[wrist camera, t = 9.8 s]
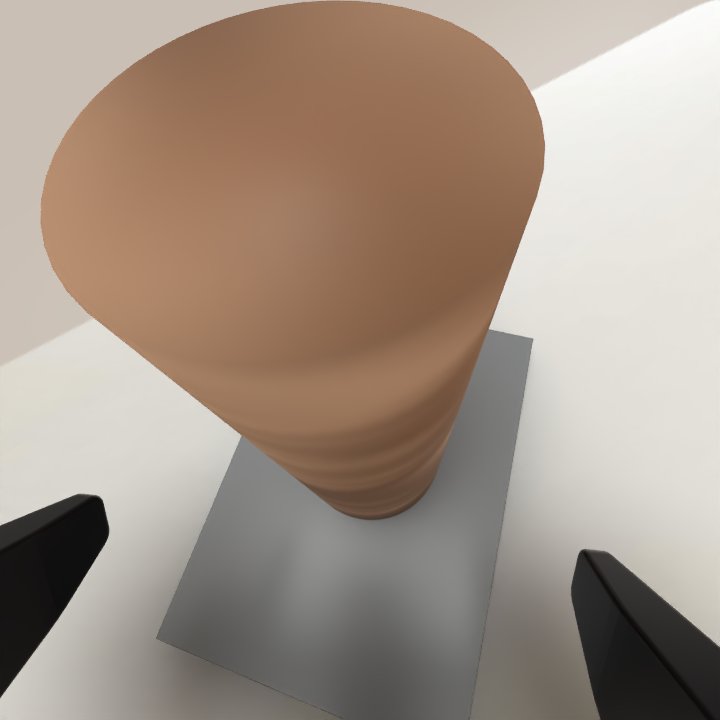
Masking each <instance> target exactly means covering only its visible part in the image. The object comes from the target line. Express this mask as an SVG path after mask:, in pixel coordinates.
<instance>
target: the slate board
mask: <svg viewBox="0 0 720 720" xmlns="http://www.w3.org/2000/svg"><path fill="white" fill-rule="evenodd" d="M532 342H533V339H532V338H527V337H523V336H518V335H513V334H508V333H504V332H499V331H494V330H489V329H488V332H487V335H486V337H485V340H484V343H483V346H482V348H481V351H480V354H479V357H478V359H477V362H476V365H475V368H474V370H473V373H472V376H471V379H470V381H469V384H468V387H467V390H466V392H465V395H464V398H463V401H462V403H461V406H460V409H459V412H458V414H457V417H456V420H455V423H454V425H453V428H452V431H451V434H450V436H449V439H448V442H447V445H446V447H445V450H444V453H443V456H442V458H441V461H440V464H439V467H438V469H437V472H436V475H435V477H434V480H433V482H432V484H431V486H430V487H429V489H428V490H427V492H426V493H425V494H424V496H423V497H422V498H421V499H420V500H419V501H418V502H417V503H416V504H415V505H413V506H412V507H411V508H409V509H408V510H406V511H404V512H402V513H400V514H398V515H396V516H393V517H390V518H385V519H380V520H363V519H358V518H353V517H350V516H348V515H345V514H343V513H341V512H339V511H337V510H335V509H334V508H333V507H331V506H330V505H329V504H327V503H326V502H325V501H324V500H322V499H321V498H320V497H319V496H317V495H316V494H315V493H314V492H312V491H311V490H310V489H309V488H307V487H306V486H305V485H303V484H302V483H301V482H300V481H298V480H297V479H296V478H295V477H293V476H292V475H291V474H290V473H288V472H287V471H286V470H285V469H283V468H282V467H281V466H280V465H278V464H277V463H276V462H275V461H273V460H272V459H271V458H270V457H268V456H267V455H266V454H265V453H263V452H262V451H261V450H259V449H258V448H257V447H256V446H254V445H253V444H252V443H251V442H249V441H248V440H247V439H246V438H244V437H243V436H242V437H241V439H240V441H239V444H238V446H237V448H236V451H235V453H234V455H233V458H232V460H231V463H230V465H229V467H228V470H227V472H226V474H225V477H224V479H223V481H222V484H221V486H220V488H219V491H218V493H217V496H216V498H215V500H214V503H213V505H212V507H211V510H210V512H209V514H208V517H207V519H206V522H205V524H204V526H203V529H202V531H201V533H200V536H199V538H198V540H197V543H196V545H195V547H194V550H193V552H192V555H191V557H190V559H189V562H188V564H187V566H186V569H185V571H184V573H183V576H182V578H181V580H180V583H179V585H178V588H177V590H176V592H175V595H174V597H173V599H172V602H171V604H170V606H169V609H168V611H167V614H166V616H165V618H164V621H163V623H162V625H161V628H160V630H159V632H158V635H157V637H156V639H158V640H160V641H163V642H165V643H167V644H170V645H172V646H174V647H177V648H179V649H181V650H184V651H186V652H188V653H191V654H193V655H195V656H198V657H200V658H202V659H205V660H207V661H209V662H212V663H214V664H216V665H219V666H221V667H223V668H226V669H228V670H230V671H233V672H235V673H237V674H239V675H242V676H244V677H246V678H249V679H251V680H253V681H256V682H258V683H260V684H263V685H265V686H267V687H270V688H272V689H274V690H277V691H279V692H281V693H284V694H286V695H288V696H291V697H293V698H295V699H298V700H300V701H302V702H305V703H307V704H309V705H312V706H314V707H316V708H319V709H321V710H323V711H325V712H328V713H330V714H332V715H335V716H337V717H339V718H342V719H344V720H469V719H470V713H471V707H472V701H473V695H474V689H475V683H476V677H477V671H478V665H479V659H480V653H481V647H482V641H483V635H484V629H485V623H486V617H487V611H488V605H489V599H490V593H491V587H492V581H493V575H494V569H495V563H496V557H497V551H498V545H499V539H500V534H501V528H502V522H503V516H504V510H505V504H506V498H507V492H508V486H509V480H510V474H511V468H512V462H513V456H514V450H515V444H516V438H517V432H518V426H519V420H520V414H521V408H522V402H523V396H524V390H525V384H526V378H527V372H528V366H529V360H530V354H531V348H532Z"/></svg>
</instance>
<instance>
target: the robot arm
mask: <svg viewBox="0 0 720 720" xmlns="http://www.w3.org/2000/svg"><path fill="white" fill-rule="evenodd" d="M108 536H109V525H108V521H107V516H106V512H105V507H104V503H103V500H102V499H101V498H100V497H99V496H97V495H89V494H77V495H74V496H71V497H69V498H67V499H64V500H62V501H59V502H57V503H54V504H52V505H49V506H47V507H45V508H42V509H40V510H37V511H35V512H32V513H30V514H27V515H25V516H23V517H20V518H18V519H15V520H13V521H10V522H8V523H6V524H3V525H1V526H0V698H1V696H2V695H3V694H4V692H5V691H6V690H7V688H8V687H9V685H10V684H11V683H12V681H13V680H14V679H15V677H16V676H17V675H18V673H19V672H20V671H21V669H22V668H23V666H24V665H25V664H26V662H27V661H28V660H29V658H30V657H31V656H32V654H33V653H34V652H35V650H36V649H37V647H38V646H39V645H40V643H41V642H42V641H43V639H44V638H45V637H46V635H47V634H48V632H49V631H50V630H51V628H52V627H53V625H54V624H55V623H56V621H57V620H58V618H59V617H60V615H61V614H62V612H63V611H64V609H65V608H66V606H67V605H68V603H69V601H70V600H71V598H72V597H73V595H74V593H75V592H76V590H77V588H78V587H79V585H80V584H81V582H82V580H83V579H84V577H85V575H86V574H87V572H88V571H89V569H90V567H91V566H92V564H93V563H94V561H95V559H96V558H97V556H98V554H99V553H100V551H101V550H102V548H103V546H104V545H105V543H106V541H107V539H108ZM571 596H572V603H573V607H574V611H575V616H576V620H577V625H578V629H579V634H580V638H581V643H582V647H583V652H584V656H585V661H586V665H587V670H588V674H589V679H590V683H591V687H592V691H593V695H594V699H595V703H596V706H597V709H598V713H599V716H600V719H601V720H720V647H719V646H718V645H717V644H716V643H714V642H713V641H712V640H711V639H710V638H709V637H707V636H706V635H705V634H704V633H703V632H701V631H700V630H699V629H698V628H697V627H696V626H694V625H693V624H692V623H691V622H690V621H689V620H687V619H686V618H685V617H684V616H683V615H682V614H680V613H679V612H678V611H677V610H676V609H674V608H673V607H672V606H671V605H670V604H669V603H667V602H666V601H665V600H664V599H663V598H662V597H660V596H659V595H658V594H657V593H656V592H655V591H653V590H652V589H651V588H650V587H649V586H647V585H646V584H645V583H644V582H643V581H642V580H640V579H639V578H638V577H637V576H636V575H635V574H633V573H632V572H631V571H630V570H629V569H627V568H626V567H625V566H624V565H623V564H622V563H620V562H619V561H618V560H617V559H616V558H615V557H613V556H612V555H611V554H609V553H608V552H605V551H599V550H590V549H583V550H581V551H580V553H579V555H578V558H577V563H576V567H575V572H574V576H573V581H572V586H571Z"/></svg>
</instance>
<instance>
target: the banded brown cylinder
mask: <svg viewBox="0 0 720 720" xmlns="http://www.w3.org/2000/svg"><path fill="white" fill-rule="evenodd" d="M544 153H545V141H544V134H543V127H542V121H541V118H540V115H539V112H538V109H537V106H536V103H535V100H534V98H533V96H532V95H531V93H530V91H529V89H528V88H527V86H526V84H525V82H524V80H523V79H522V78H521V76H520V75H519V74H518V73H517V72H516V70H515V69H514V68H513V67H512V66H511V64H510V63H509V62H508V61H507V60H506V59H504V57H502V56H501V55H500V54H499V53H498V52H497V51H496V50H495V49H494V48H492V47H491V46H490V45H488V44H487V43H485V42H484V41H482V40H481V39H480V38H478V37H477V36H475V35H474V34H472V33H470V32H468V31H466V30H464V29H462V28H460V27H458V26H456V25H455V24H452V23H451V22H448V21H445V20H443V19H440V18H437V17H434V16H432V15H429V14H426V13H423V12H419V11H415V10H412V9H408V8H403V7H398V6H393V5H387V4H381V3H371V2H360V1H317V2H302V3H294V4H287V5H279V6H274V7H269V8H265V9H260V10H255V11H251V12H247V13H244V14H240V15H236V16H233V17H229V18H226V19H223V20H220V21H218V22H215V23H212V24H209V25H206V26H204V27H201V28H199V29H197V30H195V31H192V32H190V33H188V34H185V35H183V36H181V37H179V38H177V39H175V40H173V41H171V42H169V43H167V44H166V45H164V46H162V47H160V48H158V49H156V50H155V51H153V52H152V53H150V54H149V55H147V56H145V57H144V58H142V59H141V60H139V61H137V62H136V63H134V64H133V65H132V66H130V67H129V68H128V69H127V70H125V71H124V72H123V73H121V74H120V75H119V76H117V77H116V78H115V79H114V80H113V81H111V82H110V83H109V84H108V85H107V86H106V87H105V88H104V89H103V90H102V91H100V92H99V93H98V94H97V95H96V96H95V97H94V99H93V100H92V101H91V102H90V103H89V104H88V105H87V106H86V108H85V109H84V110H83V111H82V112H81V113H80V114H79V116H78V117H77V118H76V120H75V121H74V123H73V124H72V126H71V127H70V128H69V130H68V131H67V132H66V134H65V136H64V138H63V139H62V141H61V143H60V145H59V147H58V149H57V150H56V152H55V154H54V157H53V160H52V162H51V165H50V167H49V170H48V173H47V175H46V179H45V184H44V189H43V194H42V198H41V228H42V234H43V240H44V246H45V249H46V252H47V254H48V257H49V260H50V262H51V265H52V268H53V270H54V271H55V273H56V274H57V276H58V278H59V279H60V281H61V282H62V284H63V286H64V287H65V289H66V290H67V292H68V293H69V294H70V295H71V296H72V297H73V298H74V299H75V300H76V301H77V302H78V303H79V305H80V306H82V308H83V309H84V310H85V311H86V312H87V313H88V314H90V315H91V316H92V317H93V318H95V319H96V320H97V321H99V322H100V323H101V324H102V325H104V326H105V327H106V328H107V329H109V330H110V331H111V332H112V333H114V334H115V335H116V336H117V337H119V338H120V339H121V340H122V341H124V342H125V343H126V344H127V345H129V346H130V347H131V348H132V349H134V350H135V351H136V352H137V353H139V354H140V355H141V356H143V357H144V358H145V359H146V360H148V361H149V362H150V363H151V364H153V365H154V366H155V367H156V368H158V369H159V370H160V371H161V372H163V373H164V374H165V375H166V376H168V377H169V378H170V379H171V380H173V381H174V382H175V383H176V384H178V385H179V386H180V387H182V388H183V389H184V390H185V391H187V392H188V393H189V394H190V395H192V396H193V397H194V398H195V399H197V400H198V401H199V402H200V403H202V404H203V405H204V406H205V407H207V408H208V409H209V410H210V411H212V412H213V413H214V414H215V415H217V416H218V417H219V418H220V419H222V420H223V421H224V422H226V423H227V424H228V425H229V426H231V427H232V428H233V429H234V430H236V431H237V432H238V433H239V434H241V435H242V436H243V437H244V438H246V439H247V440H248V441H249V442H251V443H252V444H253V445H254V446H256V447H257V448H258V449H259V450H261V451H262V452H263V453H265V454H266V455H267V456H268V457H270V458H271V459H272V460H273V461H275V462H276V463H277V464H278V465H280V466H281V467H282V468H283V469H285V470H286V471H287V472H288V473H290V474H291V475H292V476H293V477H295V478H296V479H297V480H298V481H300V482H301V483H302V484H303V485H305V486H306V487H307V488H309V489H310V490H311V491H312V492H314V493H315V494H316V495H317V496H319V497H320V498H321V499H322V500H324V501H325V502H326V503H327V504H329V505H330V506H331V507H333V508H334V509H335V510H337V511H339V512H341V513H343V514H345V515H348V516H350V517H353V518H358V519H363V520H380V519H385V518H390V517H393V516H396V515H398V514H400V513H402V512H404V511H406V510H408V509H409V508H411V507H412V506H413V505H415V504H416V503H417V502H418V501H419V500H420V499H421V498H422V497H423V496H424V494H425V493H426V492H427V490H428V489H429V487H430V486H431V484H432V482H433V480H434V477H435V475H436V472H437V469H438V467H439V464H440V461H441V458H442V456H443V453H444V450H445V447H446V445H447V442H448V439H449V436H450V434H451V431H452V428H453V425H454V423H455V420H456V417H457V414H458V412H459V409H460V406H461V403H462V401H463V398H464V395H465V392H466V390H467V387H468V384H469V381H470V379H471V376H472V373H473V370H474V368H475V365H476V362H477V359H478V357H479V354H480V351H481V348H482V346H483V343H484V340H485V337H486V335H487V332H488V329H489V326H490V324H491V321H492V318H493V315H494V313H495V310H496V307H497V304H498V302H499V299H500V296H501V293H502V291H503V288H504V285H505V282H506V280H507V277H508V274H509V271H510V269H511V266H512V263H513V260H514V258H515V255H516V252H517V249H518V247H519V244H520V241H521V238H522V236H523V233H524V230H525V227H526V225H527V222H528V219H529V216H530V214H531V211H532V208H533V205H534V203H535V200H536V197H537V193H538V190H539V186H540V182H541V178H542V174H543V170H544Z"/></svg>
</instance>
